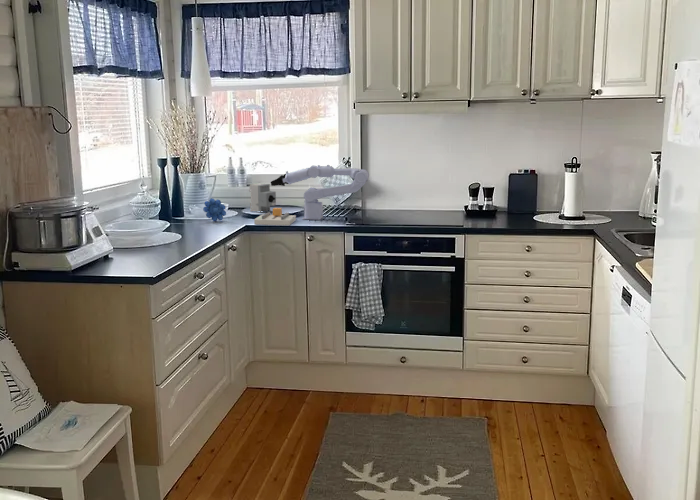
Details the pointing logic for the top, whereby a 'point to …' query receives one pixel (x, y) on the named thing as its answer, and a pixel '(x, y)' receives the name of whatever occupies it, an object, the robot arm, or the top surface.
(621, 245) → the top surface
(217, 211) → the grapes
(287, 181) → the robot arm
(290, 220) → the panel
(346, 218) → the top surface
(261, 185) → the circuit breaker
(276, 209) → the lever
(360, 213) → the top surface
